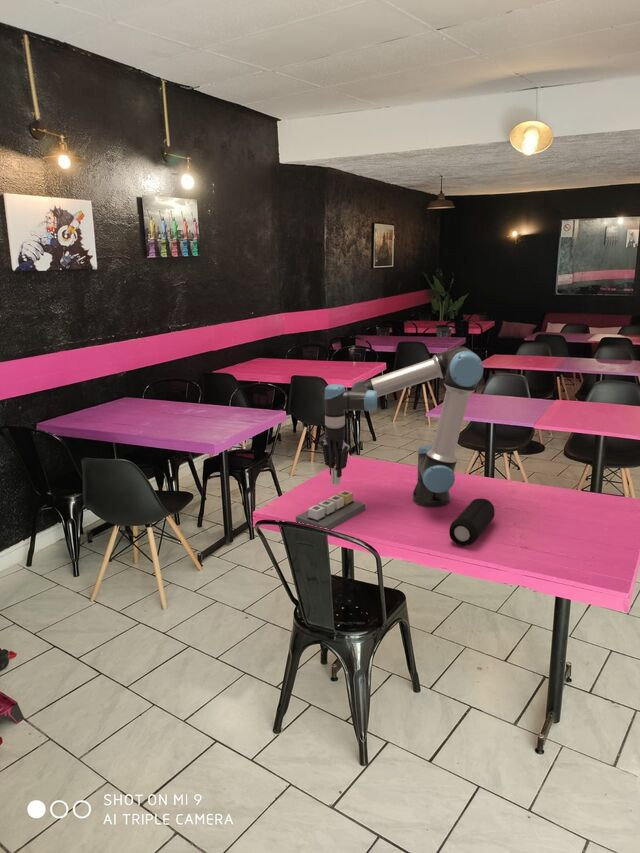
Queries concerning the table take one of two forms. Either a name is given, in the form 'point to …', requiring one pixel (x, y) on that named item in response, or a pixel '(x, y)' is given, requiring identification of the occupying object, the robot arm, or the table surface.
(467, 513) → the portable speaker
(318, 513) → the key
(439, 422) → the robot arm
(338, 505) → the key
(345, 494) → the key
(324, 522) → the keypad
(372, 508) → the table surface
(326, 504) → the key
